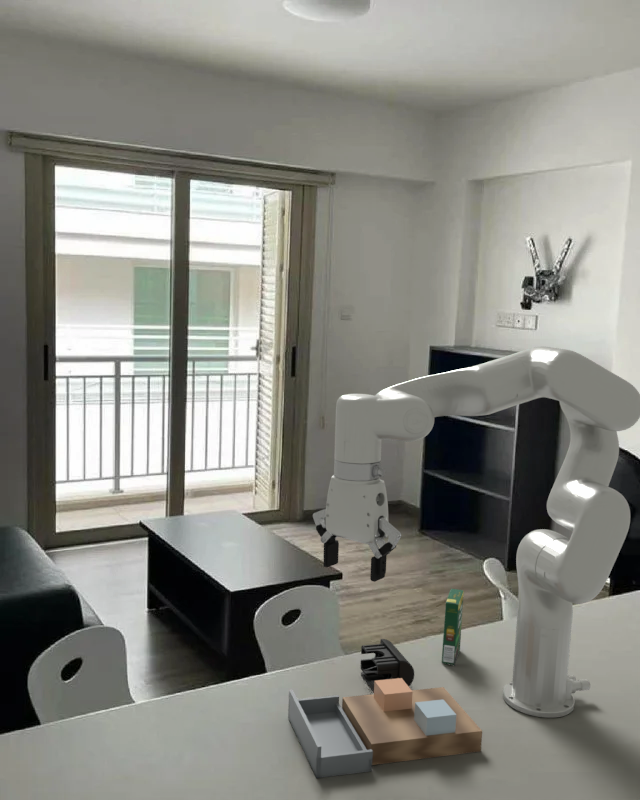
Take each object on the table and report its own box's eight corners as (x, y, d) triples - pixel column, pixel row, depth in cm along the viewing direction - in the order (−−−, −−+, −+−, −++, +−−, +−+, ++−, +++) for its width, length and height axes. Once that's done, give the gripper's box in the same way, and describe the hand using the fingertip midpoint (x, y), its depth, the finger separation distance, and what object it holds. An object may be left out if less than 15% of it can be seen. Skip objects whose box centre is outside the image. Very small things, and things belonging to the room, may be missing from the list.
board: (442, 705, 146) (443, 687, 146) (480, 751, 132) (482, 730, 131) (341, 716, 141) (342, 697, 140) (370, 765, 127) (371, 744, 126)
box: (337, 712, 142) (338, 685, 142) (371, 771, 125) (373, 740, 124) (288, 717, 140) (289, 689, 139) (316, 778, 123) (317, 746, 122)
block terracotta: (400, 694, 142) (401, 678, 142) (411, 708, 137) (412, 691, 137) (373, 697, 141) (374, 680, 141) (383, 711, 136) (384, 694, 136)
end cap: (413, 694, 150) (415, 659, 149) (377, 698, 148) (379, 663, 147) (393, 670, 159) (395, 637, 159) (359, 673, 157) (360, 640, 156)
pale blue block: (442, 716, 135) (443, 699, 135) (455, 732, 130) (456, 714, 130) (414, 719, 134) (415, 702, 134) (426, 735, 129) (427, 717, 129)
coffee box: (455, 667, 162) (459, 603, 160) (440, 664, 162) (444, 601, 161) (460, 650, 169) (464, 589, 168) (446, 648, 170) (450, 587, 168)
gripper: (414, 475, 130) (410, 579, 132) (330, 459, 141) (327, 555, 143) (387, 483, 124) (383, 591, 127) (301, 465, 135) (299, 565, 138)
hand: (353, 572), depth 135 cm, fingers open, 9 cm apart
